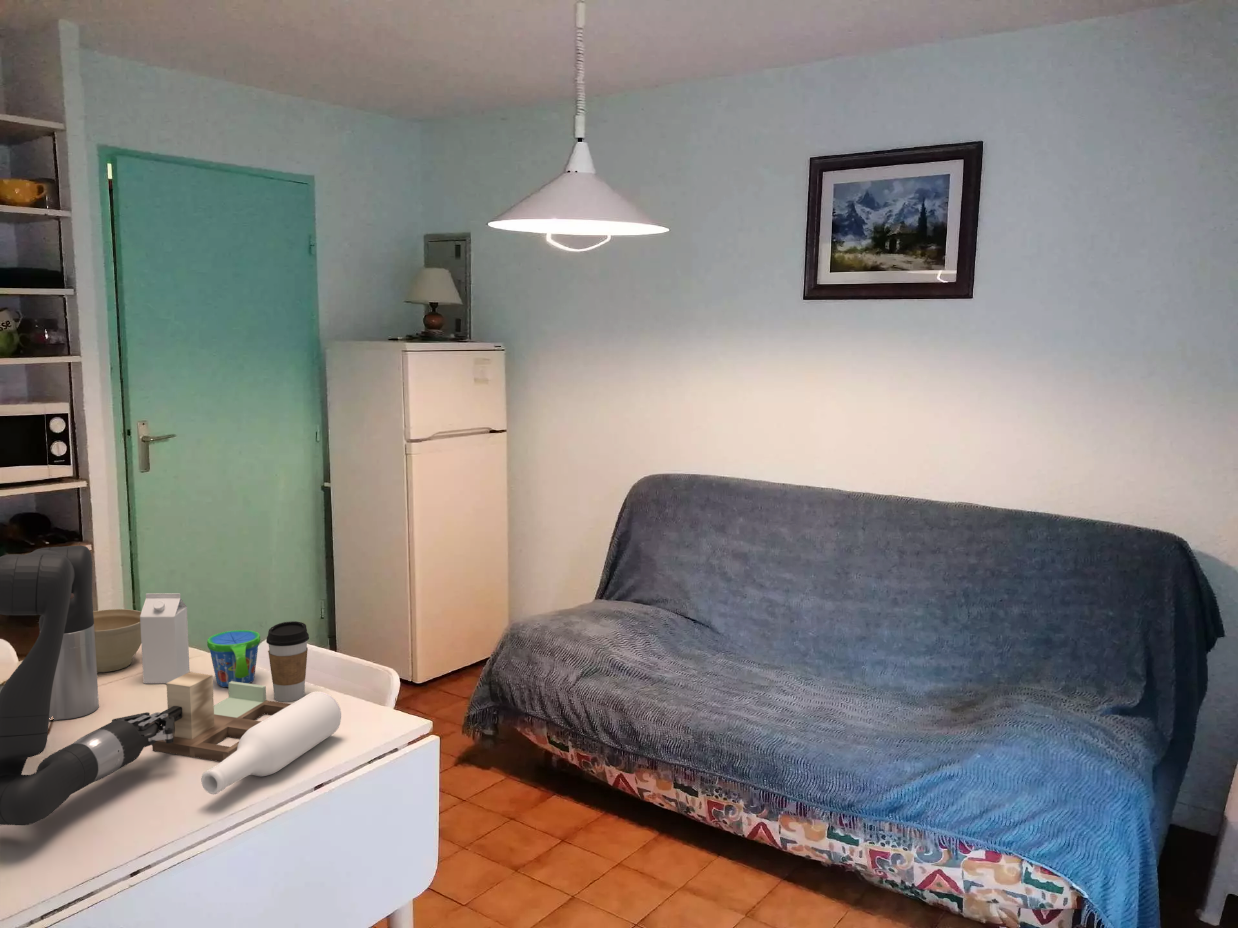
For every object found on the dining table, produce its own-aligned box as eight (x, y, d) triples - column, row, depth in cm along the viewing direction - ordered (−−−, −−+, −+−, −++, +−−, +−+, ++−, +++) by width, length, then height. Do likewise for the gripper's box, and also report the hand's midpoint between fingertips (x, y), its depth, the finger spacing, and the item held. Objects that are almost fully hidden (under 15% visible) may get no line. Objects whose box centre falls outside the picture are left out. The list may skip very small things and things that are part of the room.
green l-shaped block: (237, 727, 180) (236, 702, 179) (202, 721, 182) (201, 697, 181) (266, 709, 189) (265, 685, 188) (232, 704, 191) (231, 681, 190)
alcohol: (301, 688, 178) (184, 754, 150) (341, 690, 176) (229, 758, 147) (306, 732, 179) (191, 807, 151) (345, 735, 177) (236, 811, 148)
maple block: (192, 739, 170) (189, 686, 169) (168, 735, 171) (166, 683, 170) (214, 725, 176) (212, 674, 174) (191, 722, 177) (189, 671, 176)
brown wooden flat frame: (228, 762, 165) (227, 752, 165) (152, 750, 170) (152, 739, 169) (301, 714, 186) (301, 705, 186) (232, 704, 191) (232, 695, 190)
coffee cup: (317, 689, 199) (315, 621, 197) (299, 705, 191) (298, 634, 189) (279, 687, 200) (277, 619, 198) (260, 702, 192) (258, 632, 190)
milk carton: (156, 672, 207) (152, 588, 204) (189, 671, 208) (186, 588, 205) (143, 684, 200) (138, 598, 197) (177, 683, 201) (173, 598, 198)
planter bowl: (91, 684, 199) (88, 635, 198) (52, 668, 208) (49, 621, 206) (163, 663, 213) (160, 617, 211) (123, 648, 221) (121, 604, 220)
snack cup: (207, 673, 207) (205, 628, 206) (258, 666, 212) (256, 623, 210) (210, 698, 193) (208, 651, 192) (265, 691, 198) (263, 645, 196)
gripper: (135, 735, 151) (209, 695, 168) (69, 724, 155) (147, 686, 171) (137, 779, 152) (210, 735, 169) (71, 767, 156) (149, 725, 172)
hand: (178, 711), depth 170 cm, fingers closed
